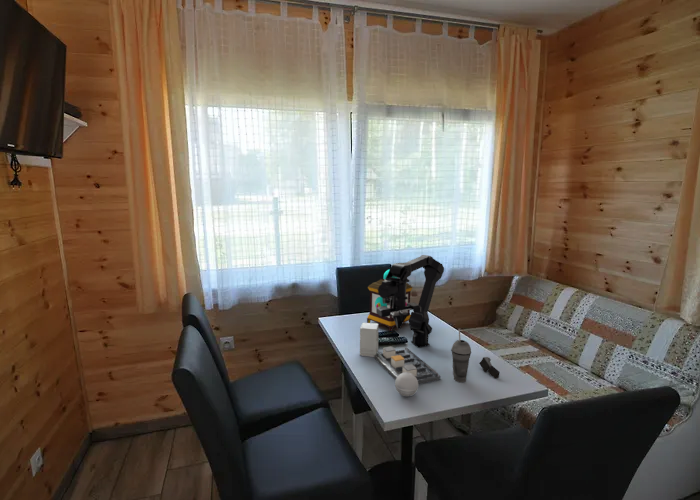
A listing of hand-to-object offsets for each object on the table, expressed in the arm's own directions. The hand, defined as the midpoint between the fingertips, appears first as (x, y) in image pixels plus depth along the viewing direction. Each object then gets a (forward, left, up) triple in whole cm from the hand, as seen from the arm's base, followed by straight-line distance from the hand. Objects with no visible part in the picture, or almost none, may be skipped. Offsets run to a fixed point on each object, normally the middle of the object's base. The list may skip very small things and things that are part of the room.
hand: (398, 328), depth 157 cm
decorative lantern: (-13, -34, -12) cm, 38 cm away
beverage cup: (-12, +27, -12) cm, 32 cm away
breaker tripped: (+6, +12, -10) cm, 17 cm away
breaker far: (+6, +3, -10) cm, 12 cm away
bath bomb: (+12, +29, -12) cm, 34 cm away
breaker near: (+6, +20, -10) cm, 24 cm away
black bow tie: (-26, +27, -12) cm, 39 cm away
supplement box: (+11, -6, -12) cm, 18 cm away
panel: (+3, +12, -12) cm, 17 cm away
